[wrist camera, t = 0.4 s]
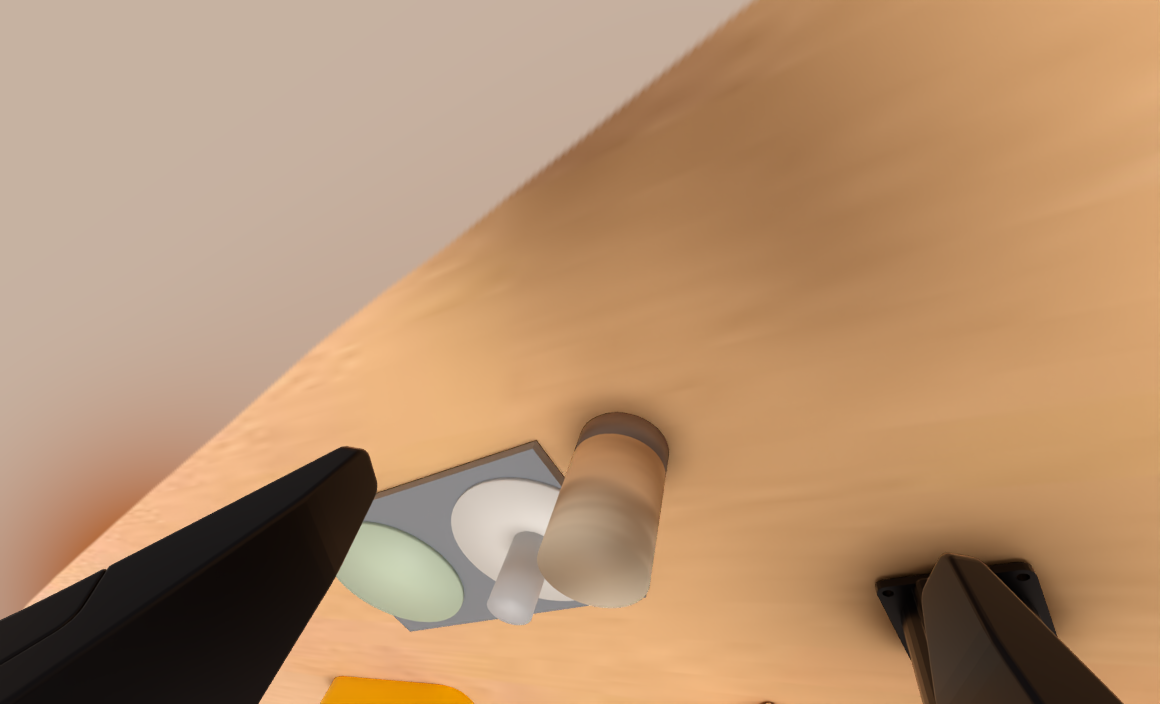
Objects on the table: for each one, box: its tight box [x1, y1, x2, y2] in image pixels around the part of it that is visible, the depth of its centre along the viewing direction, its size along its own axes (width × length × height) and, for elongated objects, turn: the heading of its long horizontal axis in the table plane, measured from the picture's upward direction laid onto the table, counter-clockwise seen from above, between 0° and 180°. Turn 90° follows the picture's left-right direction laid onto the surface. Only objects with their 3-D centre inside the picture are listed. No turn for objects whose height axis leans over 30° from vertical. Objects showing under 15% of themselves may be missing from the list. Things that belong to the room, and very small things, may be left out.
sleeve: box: [537, 413, 669, 608], centre depth 23 cm, size 4×4×7 cm
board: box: [336, 441, 646, 632], centre depth 32 cm, size 12×22×5 cm, turn 122°
